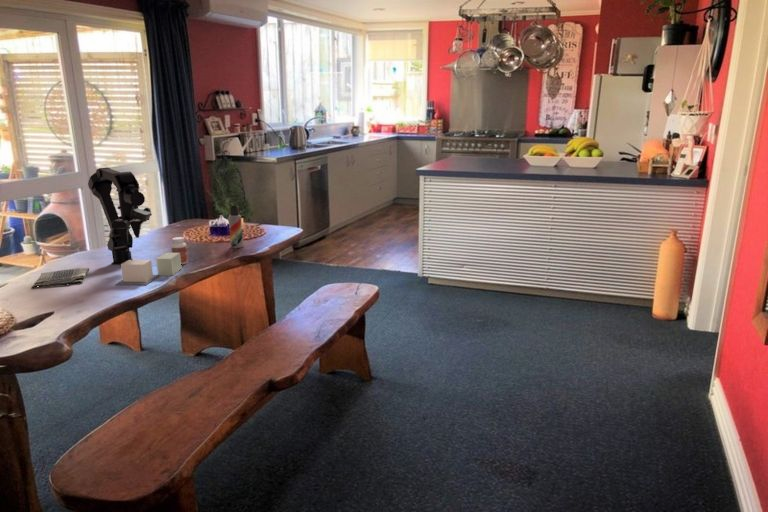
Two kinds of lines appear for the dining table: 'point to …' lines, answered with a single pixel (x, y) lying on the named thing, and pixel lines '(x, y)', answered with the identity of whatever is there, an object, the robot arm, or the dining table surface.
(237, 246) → the lotion bottle
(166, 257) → the pale green block
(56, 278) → the dish towel
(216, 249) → the dining table surface
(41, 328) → the dining table surface
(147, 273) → the upright cream box
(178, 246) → the pill bottle
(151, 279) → the slate mat
